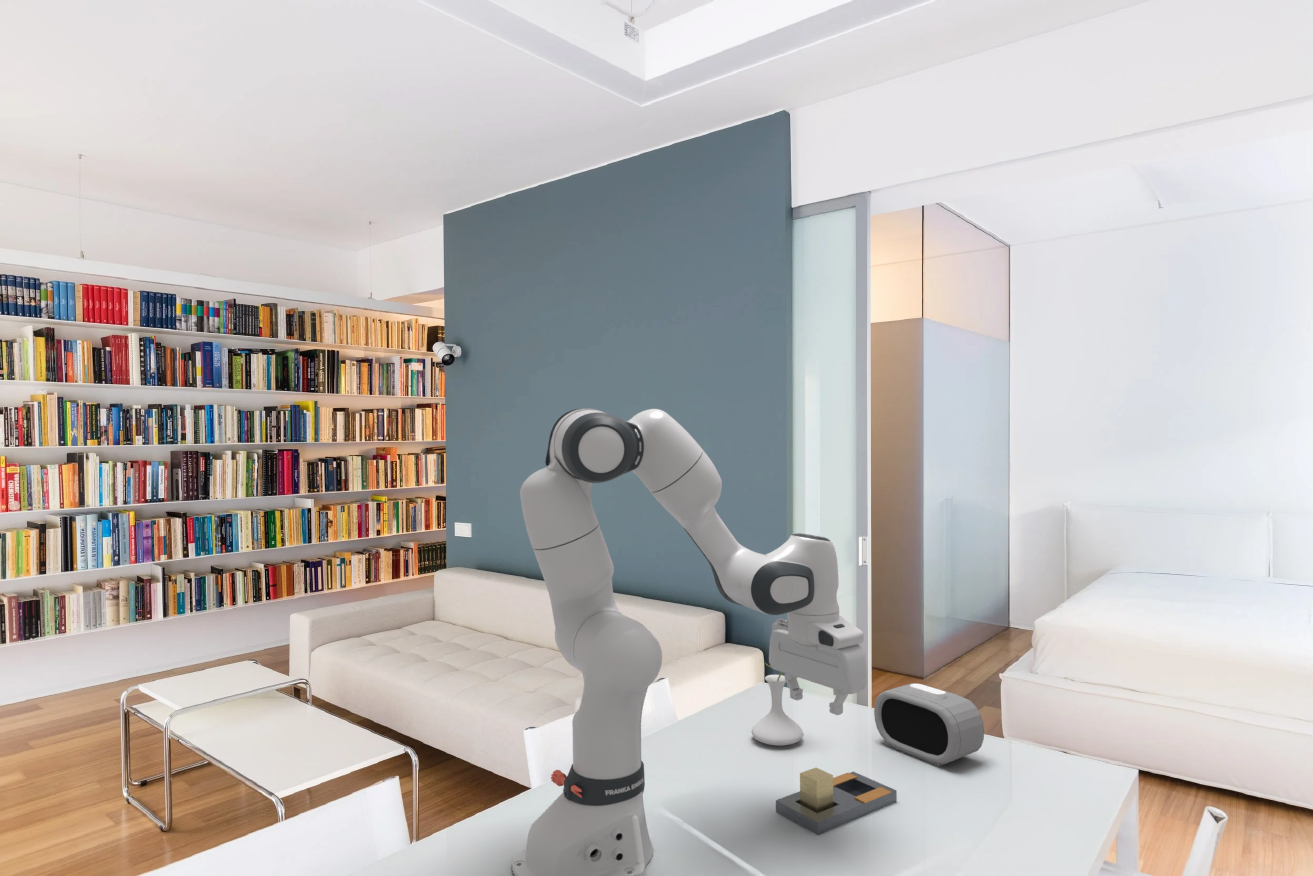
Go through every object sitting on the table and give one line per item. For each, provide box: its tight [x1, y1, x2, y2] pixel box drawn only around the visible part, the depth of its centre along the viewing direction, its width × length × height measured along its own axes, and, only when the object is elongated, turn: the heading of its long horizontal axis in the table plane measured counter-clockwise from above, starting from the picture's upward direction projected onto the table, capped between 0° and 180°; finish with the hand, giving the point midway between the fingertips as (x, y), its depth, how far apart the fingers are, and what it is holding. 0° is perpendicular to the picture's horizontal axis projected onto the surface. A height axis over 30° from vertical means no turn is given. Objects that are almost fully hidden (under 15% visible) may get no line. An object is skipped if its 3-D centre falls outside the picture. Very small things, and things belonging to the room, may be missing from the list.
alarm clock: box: [873, 682, 985, 767], centre depth 163 cm, size 21×10×13 cm, turn 33°
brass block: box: [799, 767, 834, 813], centre depth 135 cm, size 4×4×7 cm
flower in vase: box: [751, 662, 805, 746], centre depth 171 cm, size 13×11×25 cm
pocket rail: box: [775, 771, 898, 836], centre depth 137 cm, size 20×10×3 cm, turn 124°
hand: (815, 706), depth 135 cm, fingers open, 8 cm apart
